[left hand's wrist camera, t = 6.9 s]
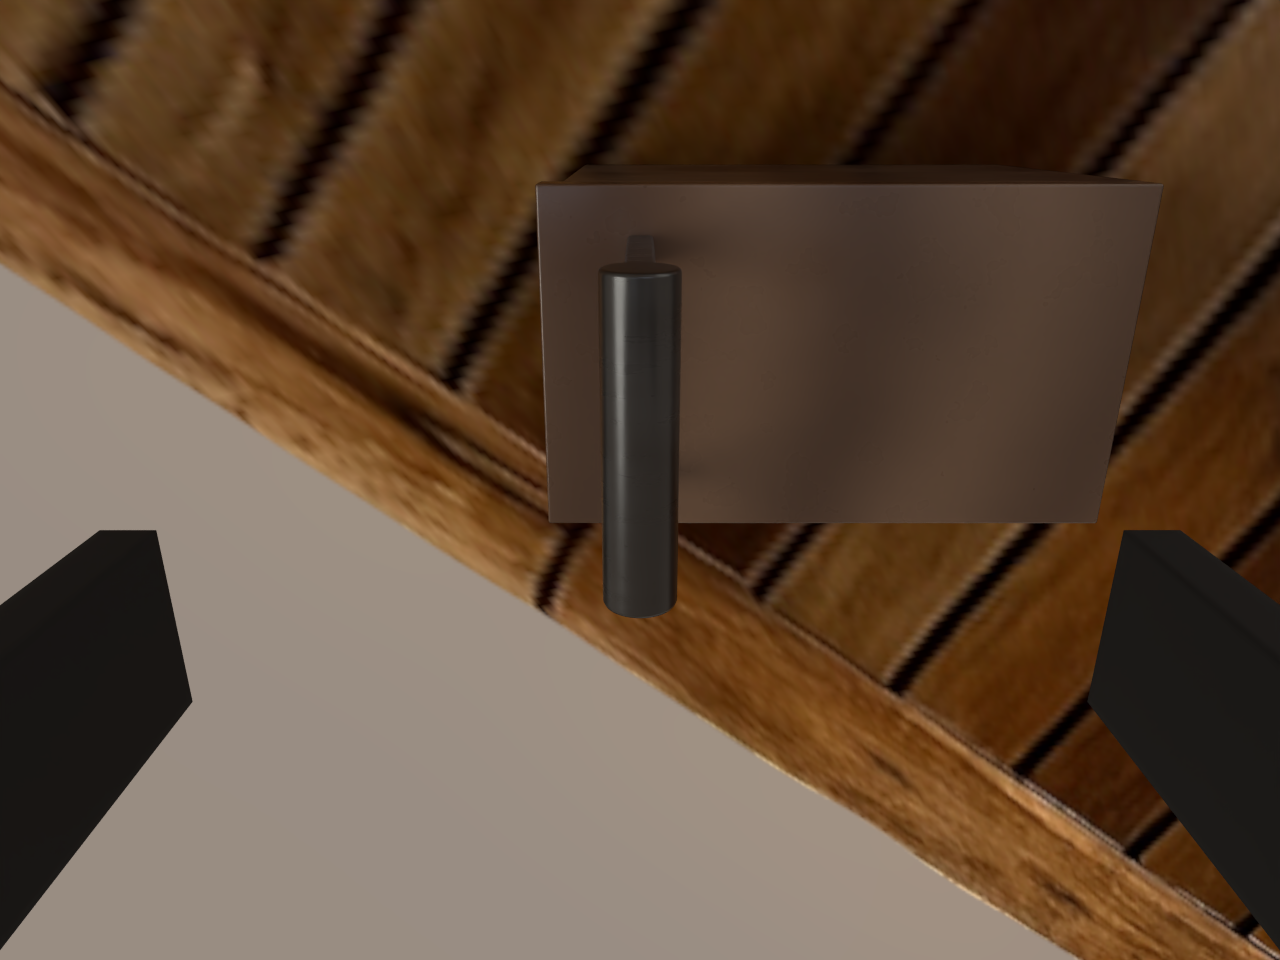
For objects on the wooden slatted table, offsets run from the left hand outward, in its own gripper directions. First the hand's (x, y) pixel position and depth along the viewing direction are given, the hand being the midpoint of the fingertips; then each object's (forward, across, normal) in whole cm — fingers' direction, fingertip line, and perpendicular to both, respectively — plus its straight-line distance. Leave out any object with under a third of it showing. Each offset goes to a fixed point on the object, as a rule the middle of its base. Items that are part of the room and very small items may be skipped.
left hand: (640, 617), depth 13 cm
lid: (+15, +6, 0) cm, 16 cm away
